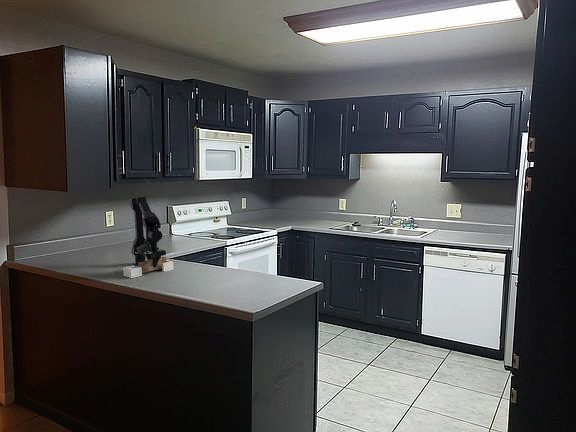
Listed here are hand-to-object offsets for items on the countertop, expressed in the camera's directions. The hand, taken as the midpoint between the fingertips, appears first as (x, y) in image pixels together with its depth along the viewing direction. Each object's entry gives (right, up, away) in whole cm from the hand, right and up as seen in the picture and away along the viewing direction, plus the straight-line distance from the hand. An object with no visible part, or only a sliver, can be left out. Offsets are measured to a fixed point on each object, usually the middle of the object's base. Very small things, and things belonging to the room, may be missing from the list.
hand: (153, 266), depth 253 cm
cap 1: (-8, -4, -8) cm, 12 cm away
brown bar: (0, -1, 0) cm, 1 cm away
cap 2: (+5, -2, +5) cm, 8 cm away
